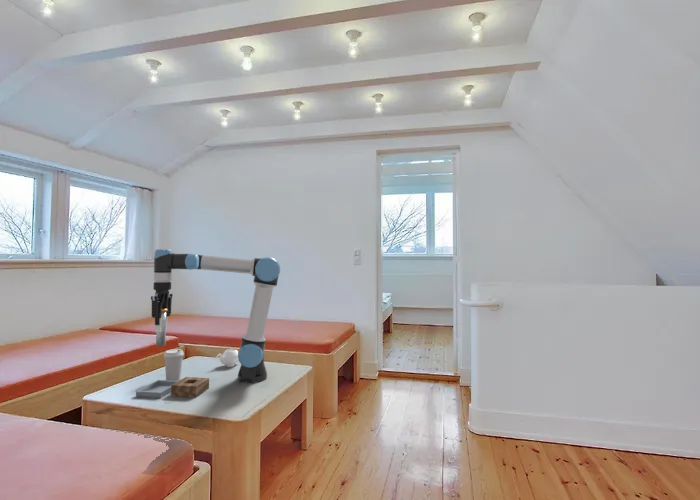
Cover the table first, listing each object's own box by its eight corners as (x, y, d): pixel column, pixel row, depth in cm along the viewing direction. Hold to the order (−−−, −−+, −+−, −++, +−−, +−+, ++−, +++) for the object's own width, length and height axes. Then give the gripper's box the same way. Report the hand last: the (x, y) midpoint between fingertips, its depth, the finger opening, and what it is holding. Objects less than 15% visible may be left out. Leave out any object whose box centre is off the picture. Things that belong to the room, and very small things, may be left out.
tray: (180, 386, 179) (181, 381, 179) (160, 398, 163) (160, 392, 163) (158, 385, 180) (158, 380, 181) (135, 397, 165) (136, 391, 165)
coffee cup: (175, 384, 182) (175, 353, 183) (158, 382, 184) (159, 352, 185) (187, 378, 192) (188, 349, 192) (171, 376, 194) (172, 348, 194)
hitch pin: (168, 343, 175) (169, 308, 175) (162, 346, 170) (163, 309, 170) (159, 343, 175) (160, 308, 176) (152, 345, 170) (153, 309, 171)
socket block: (208, 388, 177) (209, 378, 177) (196, 397, 165) (196, 386, 165) (185, 387, 178) (185, 376, 178) (171, 396, 166) (171, 385, 166)
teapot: (210, 367, 211) (211, 351, 211) (240, 360, 226) (241, 345, 226) (219, 371, 204) (219, 354, 205) (249, 363, 220) (250, 348, 220)
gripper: (165, 280, 182) (164, 327, 182) (143, 282, 165) (141, 334, 165) (180, 280, 182) (178, 327, 181) (158, 282, 165) (157, 334, 164)
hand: (161, 330), depth 173 cm, fingers closed on hitch pin, 4 cm apart
